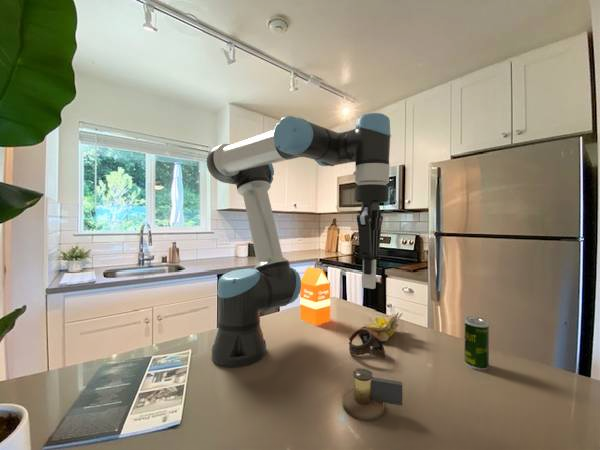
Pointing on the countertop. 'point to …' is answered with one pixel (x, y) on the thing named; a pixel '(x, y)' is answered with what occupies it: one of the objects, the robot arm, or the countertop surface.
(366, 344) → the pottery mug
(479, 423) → the countertop surface
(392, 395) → the knob
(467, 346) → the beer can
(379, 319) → the decorative flower
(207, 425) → the countertop surface
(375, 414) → the dial base
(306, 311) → the orange juice
